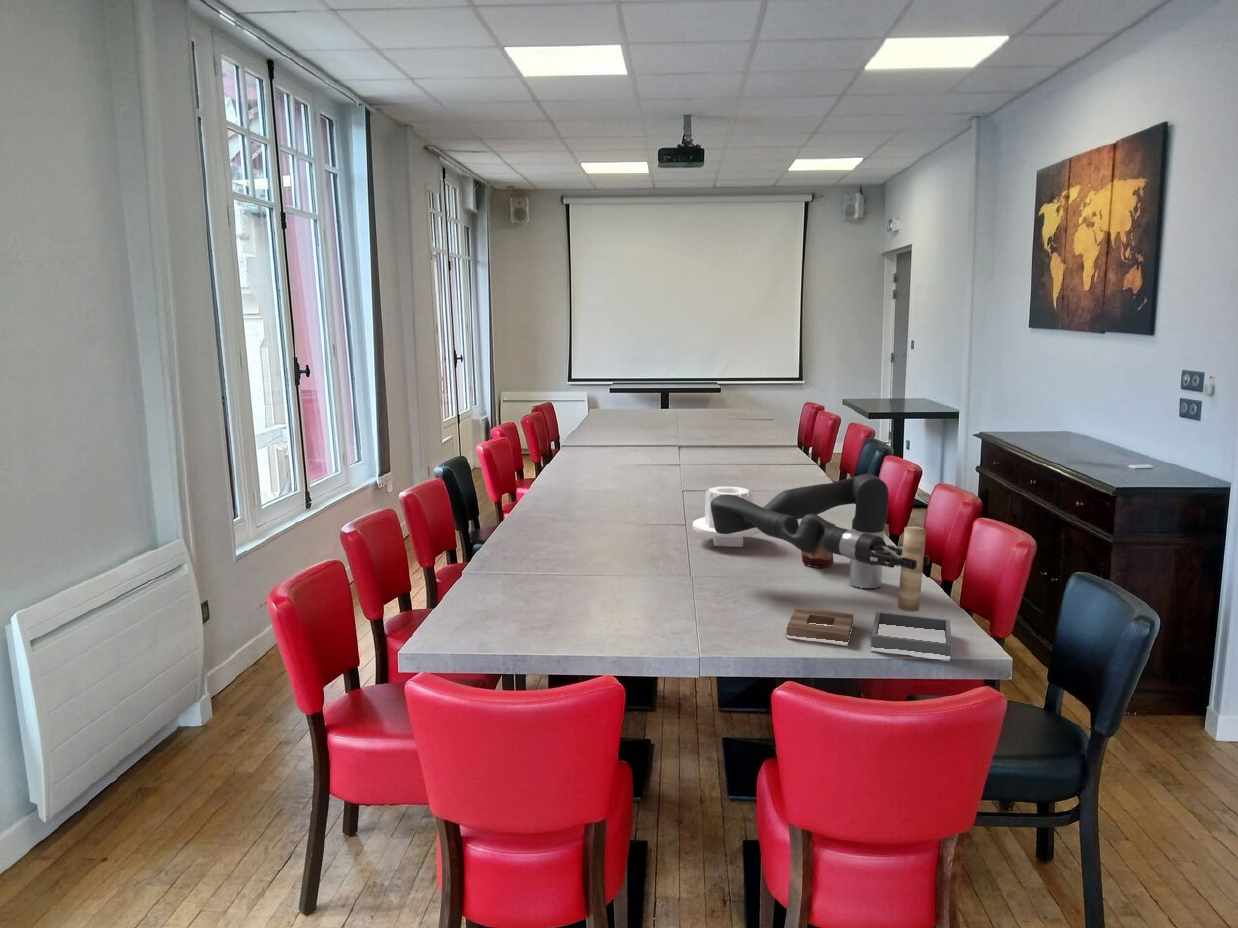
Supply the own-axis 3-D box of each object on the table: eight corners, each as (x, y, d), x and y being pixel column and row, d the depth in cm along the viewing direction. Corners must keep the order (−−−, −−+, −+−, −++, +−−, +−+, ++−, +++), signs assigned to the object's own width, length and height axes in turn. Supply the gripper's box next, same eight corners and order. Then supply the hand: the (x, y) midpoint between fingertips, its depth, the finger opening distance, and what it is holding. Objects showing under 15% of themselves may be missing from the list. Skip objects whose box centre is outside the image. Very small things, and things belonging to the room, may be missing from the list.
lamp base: (761, 534, 314) (762, 483, 310) (766, 553, 289) (767, 499, 286) (692, 532, 316) (693, 482, 313) (691, 551, 292) (692, 497, 288)
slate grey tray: (875, 625, 224) (876, 611, 223) (949, 634, 218) (950, 619, 217) (870, 651, 207) (871, 635, 206) (950, 661, 201) (951, 645, 200)
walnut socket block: (795, 618, 229) (795, 607, 229) (853, 625, 224) (853, 614, 224) (786, 638, 215) (786, 626, 215) (847, 646, 210) (848, 634, 210)
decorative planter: (829, 576, 265) (831, 533, 262) (790, 571, 270) (792, 528, 267) (842, 559, 282) (844, 518, 280) (805, 555, 288) (807, 514, 285)
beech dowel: (898, 603, 214) (904, 525, 210) (919, 606, 212) (926, 527, 208) (897, 609, 209) (903, 530, 205) (918, 612, 207) (925, 532, 204)
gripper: (877, 556, 224) (937, 572, 211) (844, 566, 215) (904, 583, 202) (879, 528, 223) (939, 543, 210) (846, 537, 214) (906, 553, 201)
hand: (921, 563), depth 206 cm, fingers closed on beech dowel, 5 cm apart
